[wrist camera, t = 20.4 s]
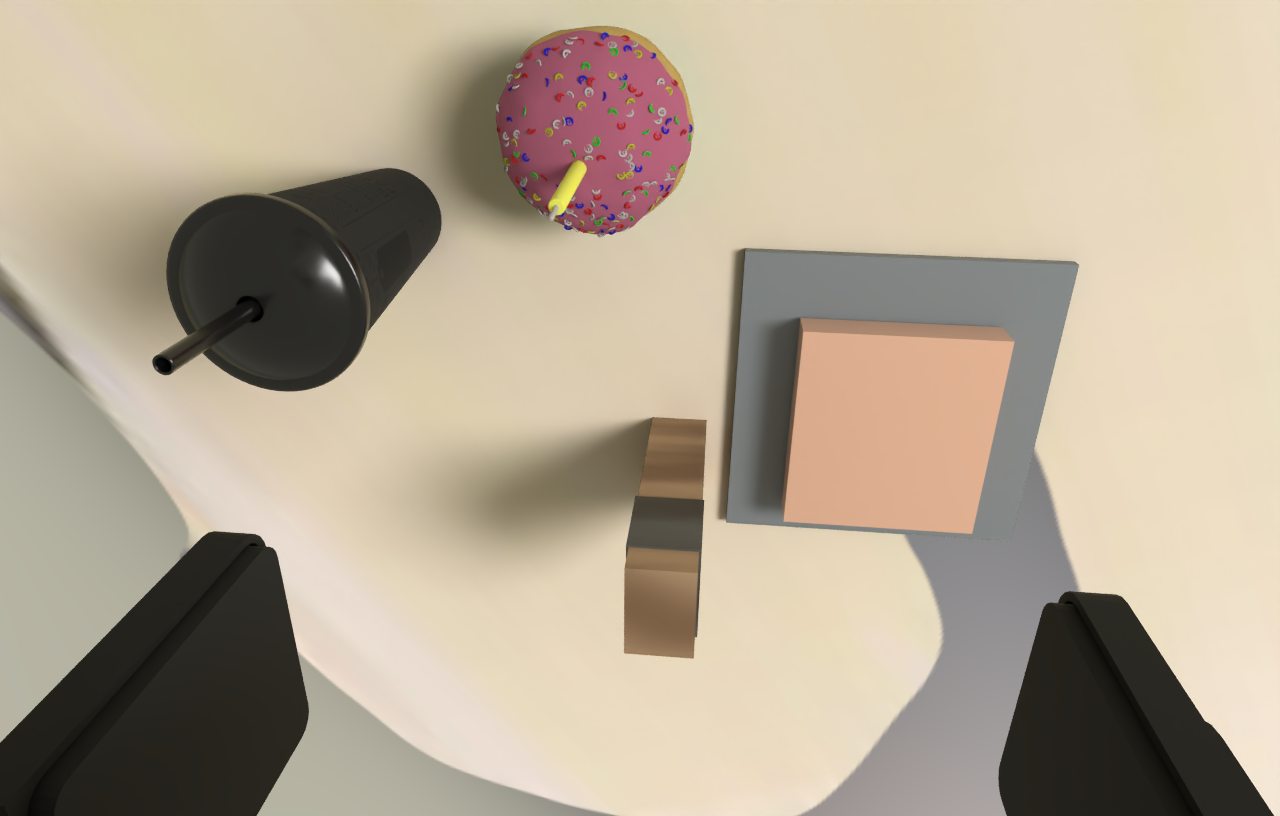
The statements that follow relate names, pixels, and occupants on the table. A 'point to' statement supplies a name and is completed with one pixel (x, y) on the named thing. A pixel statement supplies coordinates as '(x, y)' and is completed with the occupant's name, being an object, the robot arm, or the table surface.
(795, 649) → the table surface
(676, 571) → the banded brown box
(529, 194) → the cupcake
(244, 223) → the drinking cup
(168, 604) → the robot arm
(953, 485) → the tile
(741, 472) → the mat
